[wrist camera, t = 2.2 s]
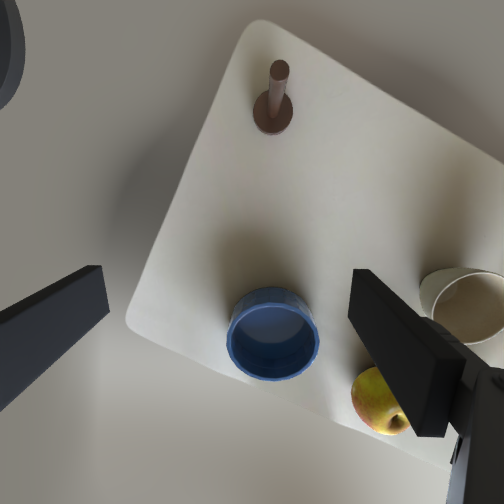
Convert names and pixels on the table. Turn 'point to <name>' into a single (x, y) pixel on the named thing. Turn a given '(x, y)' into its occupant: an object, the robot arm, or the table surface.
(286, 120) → the paper towel holder
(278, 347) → the bowl
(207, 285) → the table surface
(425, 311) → the cream ceramic cup
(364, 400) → the fruit
